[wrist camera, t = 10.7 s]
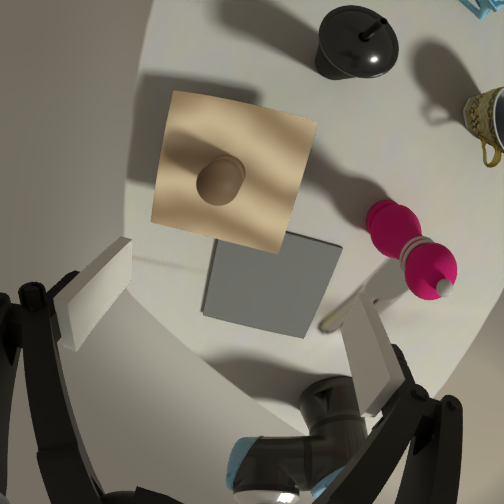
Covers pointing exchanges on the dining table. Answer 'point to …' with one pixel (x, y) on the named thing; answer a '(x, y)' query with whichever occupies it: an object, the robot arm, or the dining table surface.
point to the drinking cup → (355, 44)
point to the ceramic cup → (487, 121)
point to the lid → (230, 169)
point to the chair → (484, 7)
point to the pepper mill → (412, 250)
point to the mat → (271, 284)
